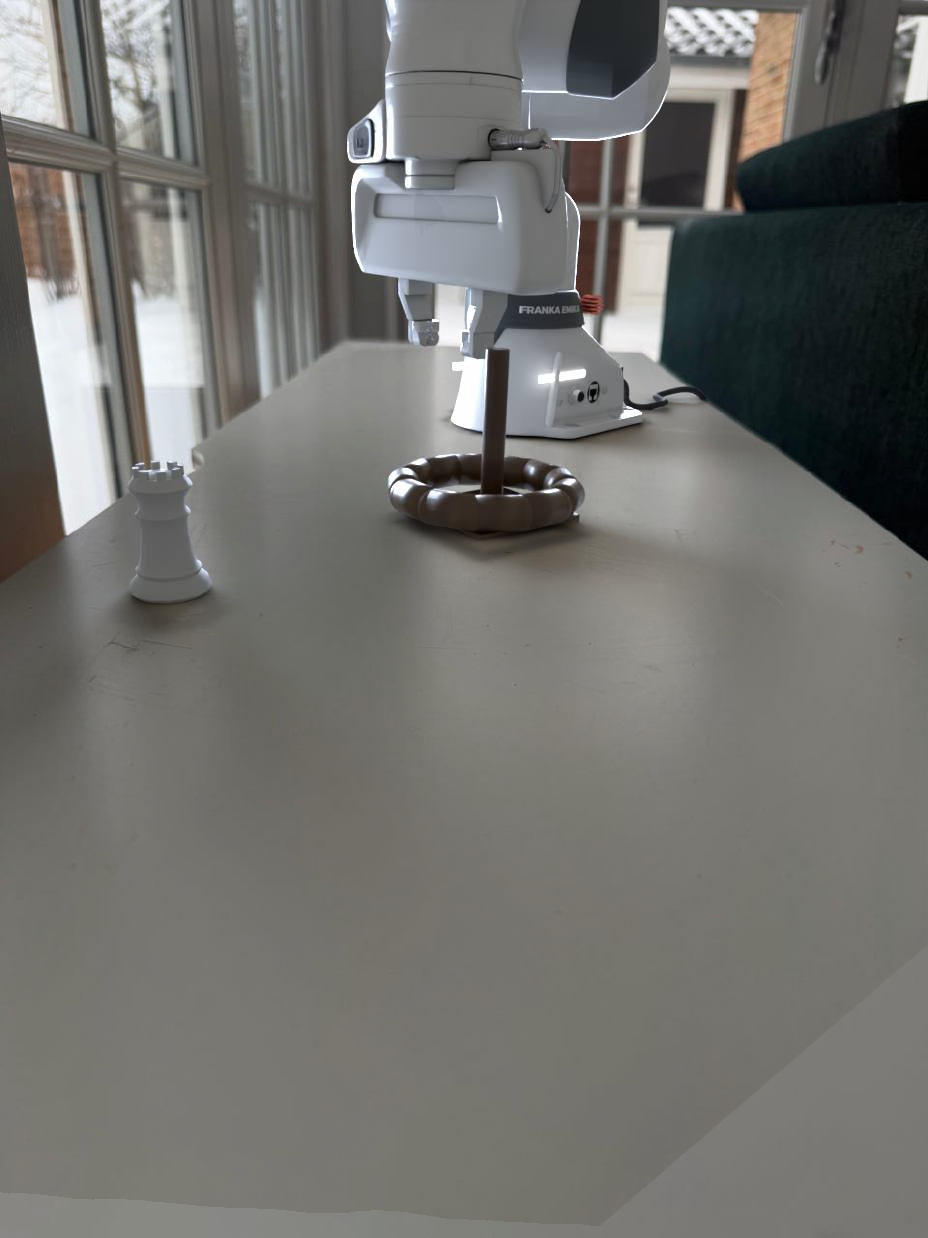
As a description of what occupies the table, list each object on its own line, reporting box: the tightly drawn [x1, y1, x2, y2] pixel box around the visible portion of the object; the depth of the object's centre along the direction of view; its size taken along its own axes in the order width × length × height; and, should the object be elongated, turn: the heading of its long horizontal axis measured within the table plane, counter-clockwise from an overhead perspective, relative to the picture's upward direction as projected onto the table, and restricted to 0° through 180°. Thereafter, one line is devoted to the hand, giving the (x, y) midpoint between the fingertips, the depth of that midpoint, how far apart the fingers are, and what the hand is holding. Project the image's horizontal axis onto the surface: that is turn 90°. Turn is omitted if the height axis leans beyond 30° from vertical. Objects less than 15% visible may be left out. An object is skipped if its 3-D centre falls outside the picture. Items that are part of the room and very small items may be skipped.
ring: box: [387, 453, 586, 532], centre depth 63 cm, size 14×14×2 cm
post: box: [451, 347, 581, 542], centre depth 61 cm, size 9×9×12 cm
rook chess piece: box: [126, 460, 213, 605], centre depth 47 cm, size 4×4×8 cm
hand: (449, 351), depth 64 cm, fingers open, 5 cm apart
